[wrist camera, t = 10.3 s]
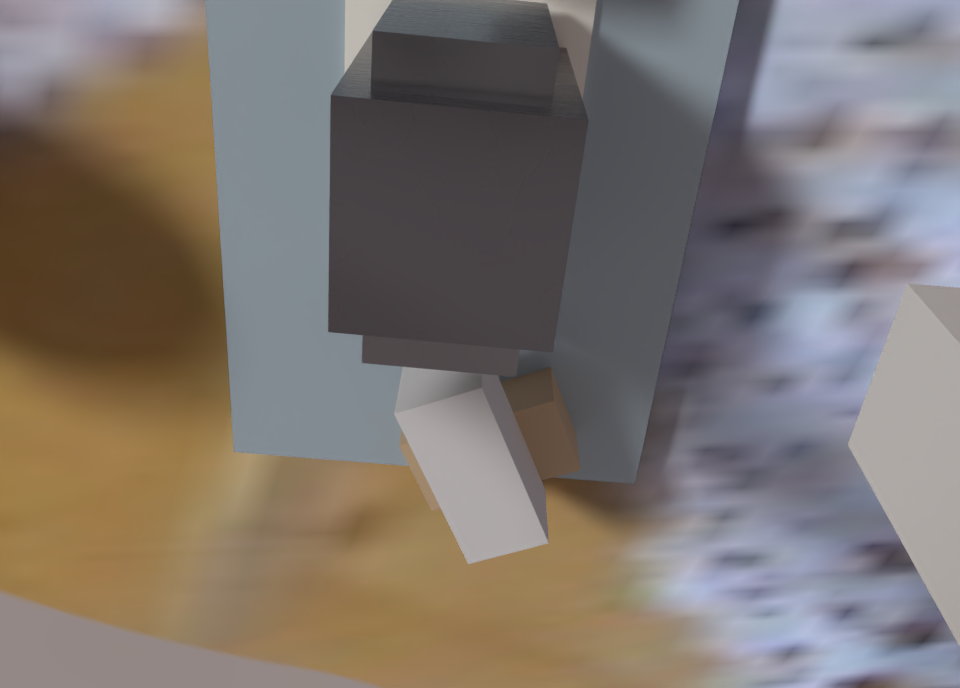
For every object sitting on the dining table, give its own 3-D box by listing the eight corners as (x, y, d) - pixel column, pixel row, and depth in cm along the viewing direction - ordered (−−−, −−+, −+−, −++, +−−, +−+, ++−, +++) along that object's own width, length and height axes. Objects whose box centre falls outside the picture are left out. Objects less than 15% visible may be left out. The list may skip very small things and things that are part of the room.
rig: (198, -398, 18) (97, -475, 13) (795, -336, 18) (891, -392, 14) (244, 434, 28) (195, 548, 23) (628, 465, 28) (652, 583, 24)
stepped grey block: (535, 269, 23) (546, 395, 18) (366, 253, 23) (327, 376, 18) (572, 1, 20) (598, 61, 15) (375, -19, 20) (331, 33, 15)
